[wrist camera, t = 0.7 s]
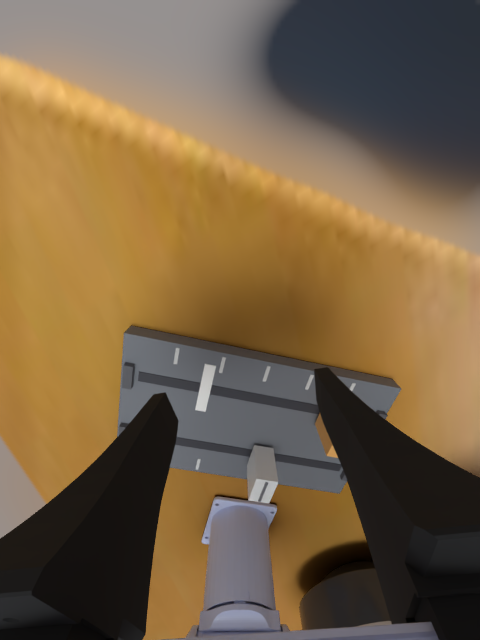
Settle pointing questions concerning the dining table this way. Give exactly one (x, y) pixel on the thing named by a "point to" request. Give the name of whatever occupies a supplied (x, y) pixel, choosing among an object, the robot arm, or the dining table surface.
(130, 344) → the console
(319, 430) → the orange fader knob
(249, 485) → the grey fader knob
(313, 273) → the dining table surface
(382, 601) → the planter
